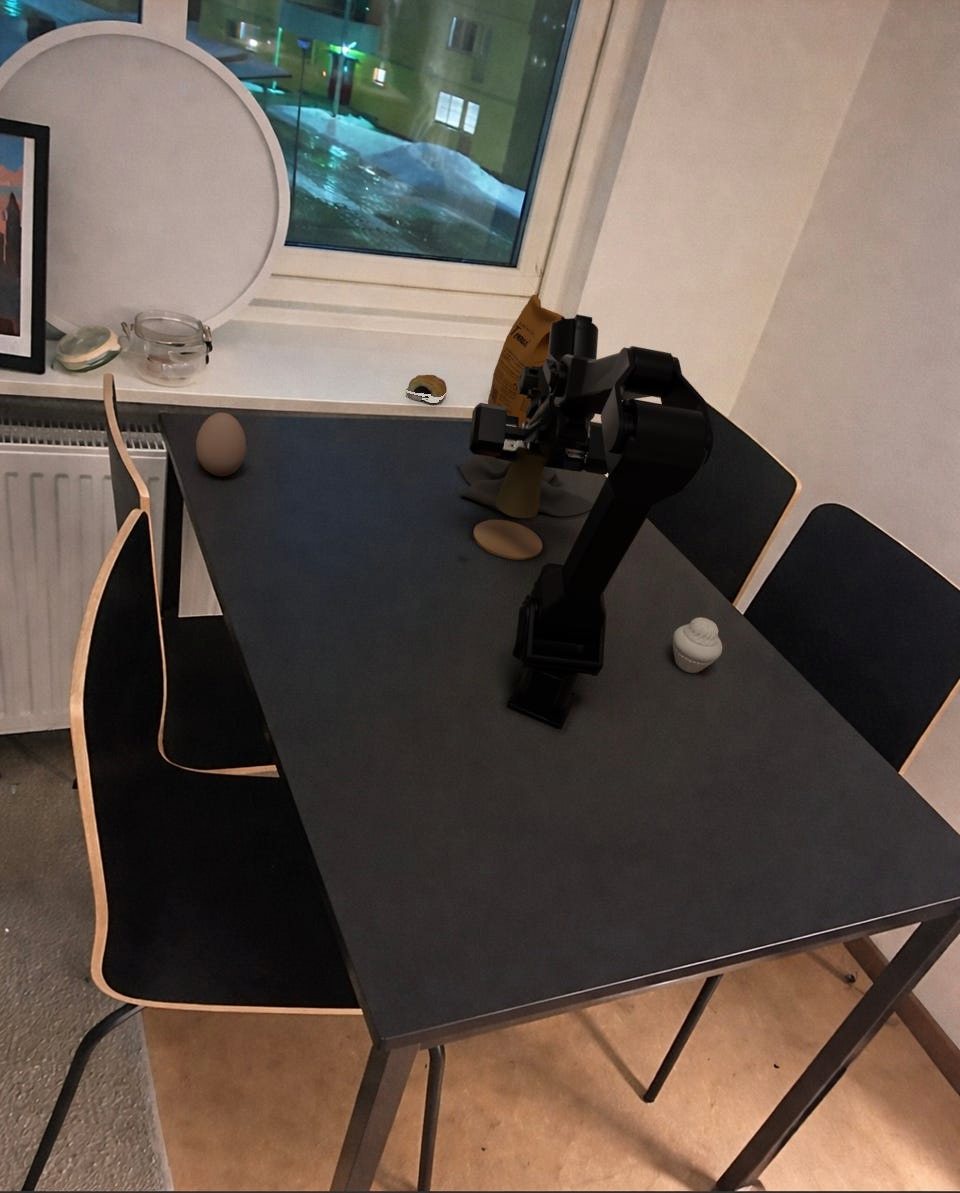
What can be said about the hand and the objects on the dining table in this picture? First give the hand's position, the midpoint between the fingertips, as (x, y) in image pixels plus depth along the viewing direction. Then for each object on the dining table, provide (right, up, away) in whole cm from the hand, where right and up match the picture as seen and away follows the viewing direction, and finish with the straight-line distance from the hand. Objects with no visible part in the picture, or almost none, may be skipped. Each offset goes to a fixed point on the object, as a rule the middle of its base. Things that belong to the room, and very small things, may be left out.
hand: (526, 460), depth 123 cm
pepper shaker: (-1, -6, +2) cm, 7 cm away
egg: (-43, -2, +4) cm, 43 cm away
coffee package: (0, +13, +42) cm, 44 cm away
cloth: (+1, -2, +20) cm, 20 cm away
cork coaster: (-2, -11, +6) cm, 12 cm away
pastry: (-16, +18, +43) cm, 50 cm away
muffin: (+20, -27, -10) cm, 35 cm away
